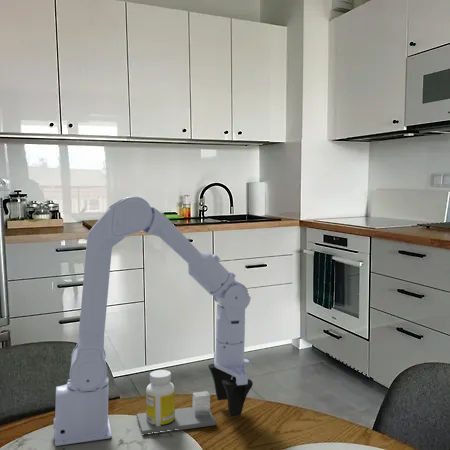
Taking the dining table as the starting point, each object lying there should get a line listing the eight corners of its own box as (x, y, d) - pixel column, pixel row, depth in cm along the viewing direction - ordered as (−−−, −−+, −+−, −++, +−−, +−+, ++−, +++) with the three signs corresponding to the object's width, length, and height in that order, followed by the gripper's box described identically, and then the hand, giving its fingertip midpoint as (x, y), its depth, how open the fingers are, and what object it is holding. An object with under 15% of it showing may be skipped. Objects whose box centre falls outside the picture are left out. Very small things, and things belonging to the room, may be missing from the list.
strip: (142, 435, 81) (142, 409, 81) (136, 417, 88) (137, 393, 88) (216, 424, 86) (216, 400, 86) (205, 409, 92) (206, 386, 92)
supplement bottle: (177, 417, 88) (177, 368, 88) (171, 431, 83) (171, 379, 83) (150, 416, 89) (150, 367, 88) (142, 430, 83) (142, 378, 83)
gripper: (263, 349, 84) (261, 420, 85) (236, 329, 98) (234, 390, 99) (227, 352, 82) (226, 425, 82) (205, 331, 96) (203, 394, 96)
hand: (228, 407), depth 90 cm, fingers open, 7 cm apart
